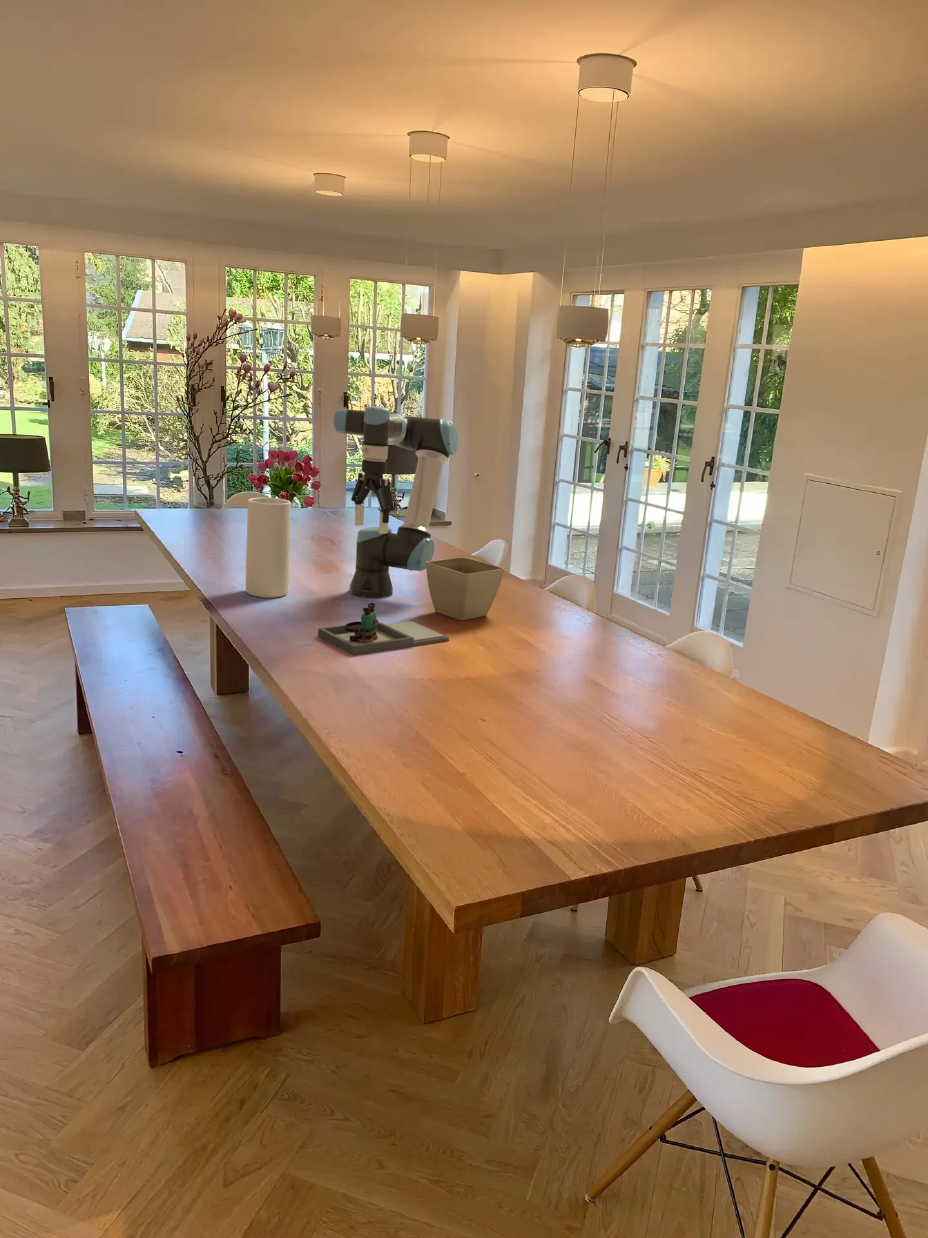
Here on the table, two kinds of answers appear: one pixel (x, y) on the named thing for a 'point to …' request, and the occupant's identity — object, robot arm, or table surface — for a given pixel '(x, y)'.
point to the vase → (268, 547)
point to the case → (381, 637)
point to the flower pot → (463, 586)
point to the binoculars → (365, 625)
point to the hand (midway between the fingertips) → (370, 529)
